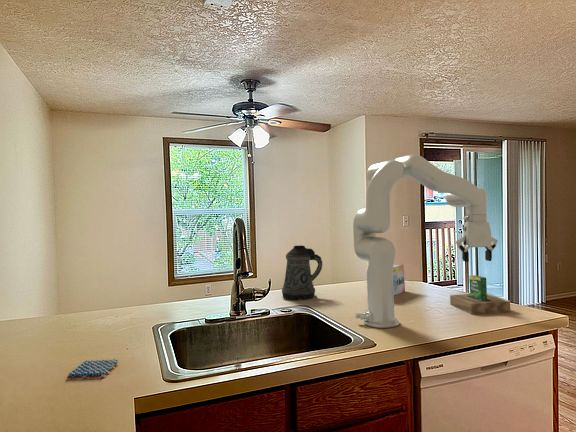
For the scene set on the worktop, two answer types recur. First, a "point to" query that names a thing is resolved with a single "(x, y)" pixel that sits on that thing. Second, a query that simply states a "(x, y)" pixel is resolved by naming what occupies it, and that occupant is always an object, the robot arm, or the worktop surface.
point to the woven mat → (93, 369)
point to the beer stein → (300, 274)
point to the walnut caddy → (480, 304)
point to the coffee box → (478, 288)
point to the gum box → (398, 279)
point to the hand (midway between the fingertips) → (477, 261)
